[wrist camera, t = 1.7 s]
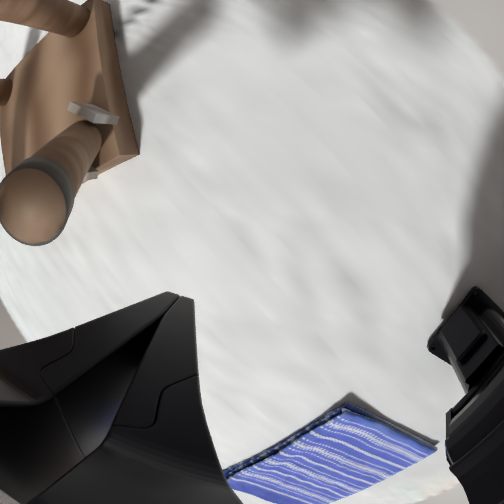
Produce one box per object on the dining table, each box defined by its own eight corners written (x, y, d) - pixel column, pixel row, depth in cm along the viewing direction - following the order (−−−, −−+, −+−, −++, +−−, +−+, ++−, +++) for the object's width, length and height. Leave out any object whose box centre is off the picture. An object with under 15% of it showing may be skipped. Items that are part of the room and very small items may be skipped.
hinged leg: (110, 126, 17) (77, 178, 8) (95, 167, 18) (60, 254, 9) (70, 113, 15) (2, 156, 7) (56, 156, 16) (-7, 234, 8)
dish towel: (218, 469, 32) (212, 484, 29) (344, 392, 23) (345, 415, 21) (309, 504, 32) (307, 518, 30) (436, 441, 24) (441, 458, 21)
